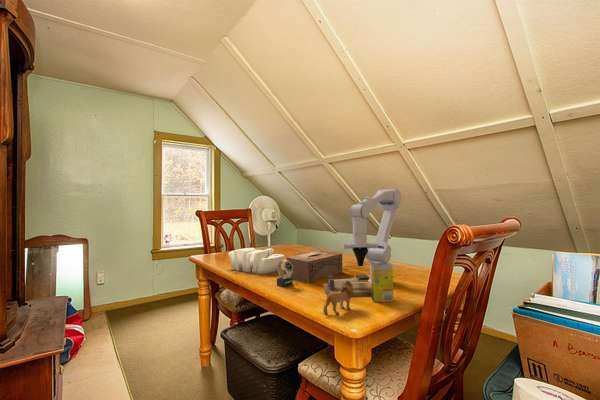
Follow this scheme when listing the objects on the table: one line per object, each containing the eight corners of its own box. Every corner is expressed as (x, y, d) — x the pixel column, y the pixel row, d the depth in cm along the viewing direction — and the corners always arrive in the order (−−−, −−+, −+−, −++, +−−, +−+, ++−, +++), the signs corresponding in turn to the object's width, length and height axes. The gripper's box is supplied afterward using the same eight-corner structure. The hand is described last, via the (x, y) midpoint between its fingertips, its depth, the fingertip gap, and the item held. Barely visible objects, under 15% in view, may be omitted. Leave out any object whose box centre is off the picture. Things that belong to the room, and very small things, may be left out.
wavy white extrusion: (221, 268, 158) (221, 249, 159) (242, 262, 172) (242, 245, 172) (269, 276, 139) (269, 255, 139) (288, 269, 153) (288, 250, 153)
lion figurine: (343, 302, 102) (343, 277, 102) (356, 306, 98) (356, 280, 98) (319, 315, 91) (318, 287, 91) (332, 319, 87) (332, 290, 87)
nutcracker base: (367, 286, 121) (367, 273, 121) (375, 295, 109) (375, 281, 109) (323, 287, 120) (323, 274, 120) (327, 296, 108) (326, 282, 108)
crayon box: (391, 299, 105) (390, 267, 105) (393, 301, 102) (393, 269, 102) (371, 299, 105) (370, 268, 105) (373, 302, 102) (373, 270, 102)
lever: (329, 285, 112) (331, 271, 112) (327, 282, 116) (329, 268, 117) (367, 291, 112) (370, 277, 112) (364, 287, 117) (366, 274, 117)
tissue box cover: (321, 268, 155) (321, 250, 155) (342, 272, 145) (342, 253, 145) (286, 277, 137) (286, 257, 137) (308, 283, 127) (307, 261, 127)
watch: (286, 288, 120) (286, 262, 120) (274, 284, 125) (274, 259, 125) (295, 285, 124) (295, 260, 124) (283, 281, 129) (283, 258, 129)
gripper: (344, 234, 112) (345, 268, 112) (380, 233, 113) (380, 267, 113) (341, 232, 119) (341, 264, 119) (374, 231, 120) (375, 263, 120)
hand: (360, 265), depth 116 cm, fingers closed
